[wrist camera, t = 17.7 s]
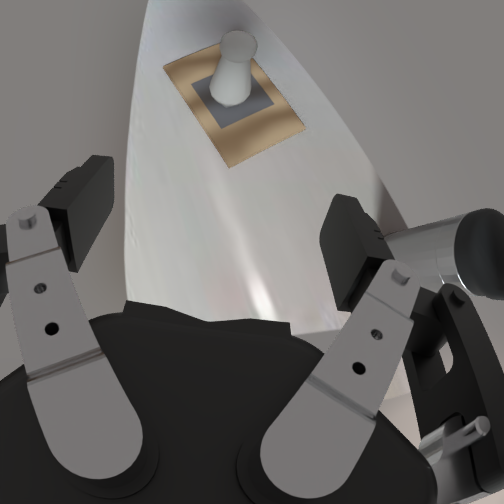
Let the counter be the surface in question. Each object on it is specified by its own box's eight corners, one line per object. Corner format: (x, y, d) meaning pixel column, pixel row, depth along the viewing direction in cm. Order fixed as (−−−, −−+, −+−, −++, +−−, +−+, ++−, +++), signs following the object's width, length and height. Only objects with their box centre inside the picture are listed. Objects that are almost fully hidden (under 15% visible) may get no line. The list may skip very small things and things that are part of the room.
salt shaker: (213, 77, 43) (220, 19, 30) (251, 84, 44) (268, 28, 31) (205, 108, 43) (208, 51, 30) (244, 116, 43) (261, 61, 31)
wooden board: (304, 129, 45) (306, 127, 45) (229, 168, 43) (229, 166, 42) (235, 39, 45) (235, 37, 45) (163, 68, 43) (162, 66, 42)
